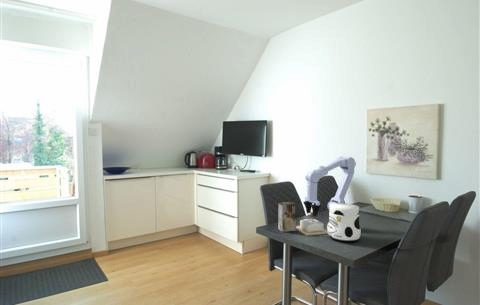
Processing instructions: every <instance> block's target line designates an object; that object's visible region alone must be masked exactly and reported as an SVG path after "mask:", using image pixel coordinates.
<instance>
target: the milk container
mask: <svg viewBox="0 0 480 305" xmlns="http://www.w3.org/2000/svg"><path fill="white" fill-rule="evenodd" d="M328 212H329V214H328V215H329V216H328V222H327V225H328V226H327V225H326V228H327V229H326V230H327V232H328V235H327V236H329V237H330V238H332V239H333V240H336V241H340V242H355V241H358V240H359V239H360V237H361V234H362V232H361V226H360V206H359V205H356V204H352V203H346V202H345V203H333V204H331V205H330V207H329V210H328Z"/></svg>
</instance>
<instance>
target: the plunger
mask: <svg viewBox="0 0 480 305" xmlns="http://www.w3.org/2000/svg"><path fill="white" fill-rule="evenodd" d="M307 215H308V216H307V217H308V218H310V219H308V220H307V221H304V222H305V223H307V224H319V222H320V221H319V222H317V221H318V220H317V221H315V220H316V219H315V220H313V219H314V217H313V211H311V212H309V213H308V214H307Z"/></svg>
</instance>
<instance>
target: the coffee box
mask: <svg viewBox="0 0 480 305" xmlns="http://www.w3.org/2000/svg"><path fill="white" fill-rule="evenodd" d="M277 205H278V208H277V211H278V212H277V215H278V219H277V221H278V222H277V223H278V225H277V226H278V227H277V228H278V230H279V231H280V232H284V233H287V232H296V231H297V229H296V226H297V203H295V202H292V201H287V202H278V204H277Z"/></svg>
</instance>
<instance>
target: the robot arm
mask: <svg viewBox="0 0 480 305" xmlns="http://www.w3.org/2000/svg"><path fill="white" fill-rule="evenodd" d="M356 165H357V163H356V160H355V158H354V157H352V156H351V157H349V156H339V157H337V158H336V159H334V160H333V161H332V162H330V163H328V164H327V165H320V166H319V167H318V168H316V169H313V170H312V171H309V172H307V173H306V175H305V180H306V183H307V184H306V188H307V190H306V191H307V194H306V196H305V197H304V201H303V205H304V208H305V212H306V214H307V215H308V213H309V212H313V218H315V217H318V214H319V210H320V209H321V207H322V205H321V204H320V203H321V202H320V201H319V200H318V182H319V181H320V179H321V178H323V177H326V176H327V175H328V174H329V172H330V171H332V170H334V169H337V168H338V167H340V169H341V170H342V172H343V175H342V178H341V179H340V182H339V185H338V188H337V190H336V193H335V195H334V197H331V199H330V201H329V202H327V209H328V211H329V207H330V205H331V204H333V203H346V202H345V201H346V200H345V198H346V195H347V193H348V190H349V188H350V185H351V182H352V180H353V178H354V175H355V168H356ZM327 226H328V224H327V225H326V227H327Z"/></svg>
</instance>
